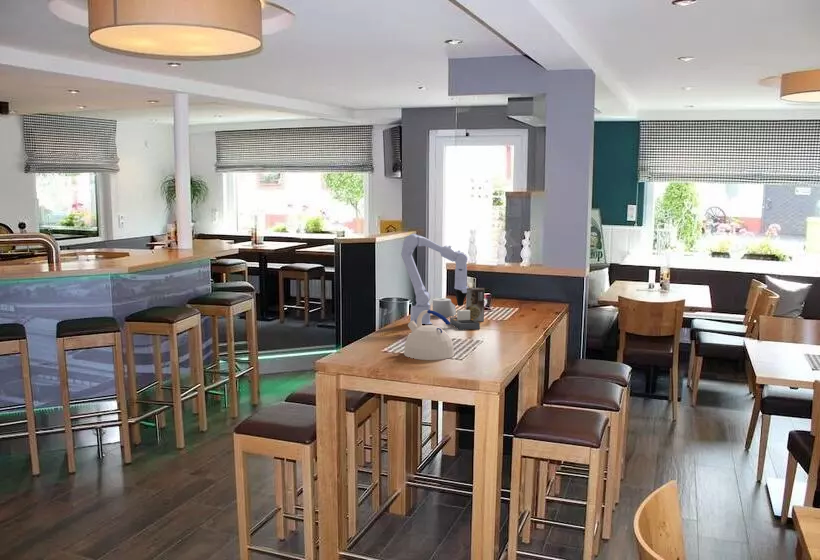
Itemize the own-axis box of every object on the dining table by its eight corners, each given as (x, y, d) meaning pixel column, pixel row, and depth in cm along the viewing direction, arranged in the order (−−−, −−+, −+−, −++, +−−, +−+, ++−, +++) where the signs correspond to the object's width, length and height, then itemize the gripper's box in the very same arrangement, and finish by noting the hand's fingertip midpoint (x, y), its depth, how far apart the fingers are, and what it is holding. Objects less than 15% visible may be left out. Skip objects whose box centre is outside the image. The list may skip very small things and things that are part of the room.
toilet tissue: (459, 315, 373) (460, 299, 372) (439, 318, 366) (440, 301, 364) (449, 313, 381) (449, 297, 379) (429, 315, 373) (429, 299, 372)
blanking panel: (458, 325, 344) (458, 310, 343) (457, 324, 346) (457, 310, 345) (470, 324, 345) (470, 310, 344) (468, 324, 347) (469, 309, 346)
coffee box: (483, 319, 363) (484, 287, 361) (483, 321, 357) (484, 289, 355) (465, 318, 364) (466, 287, 362) (465, 321, 358) (466, 289, 356)
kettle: (424, 346, 300) (424, 304, 298) (464, 354, 287) (465, 309, 285) (392, 355, 284) (392, 310, 282) (433, 363, 271) (434, 316, 269)
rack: (459, 330, 335) (459, 323, 334) (449, 323, 350) (450, 317, 350) (479, 329, 337) (479, 322, 337) (469, 323, 353) (469, 316, 352)
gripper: (473, 279, 339) (472, 308, 341) (464, 276, 353) (464, 303, 355) (458, 279, 338) (458, 308, 339) (450, 276, 352) (450, 303, 353)
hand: (460, 305), depth 347 cm, fingers closed
